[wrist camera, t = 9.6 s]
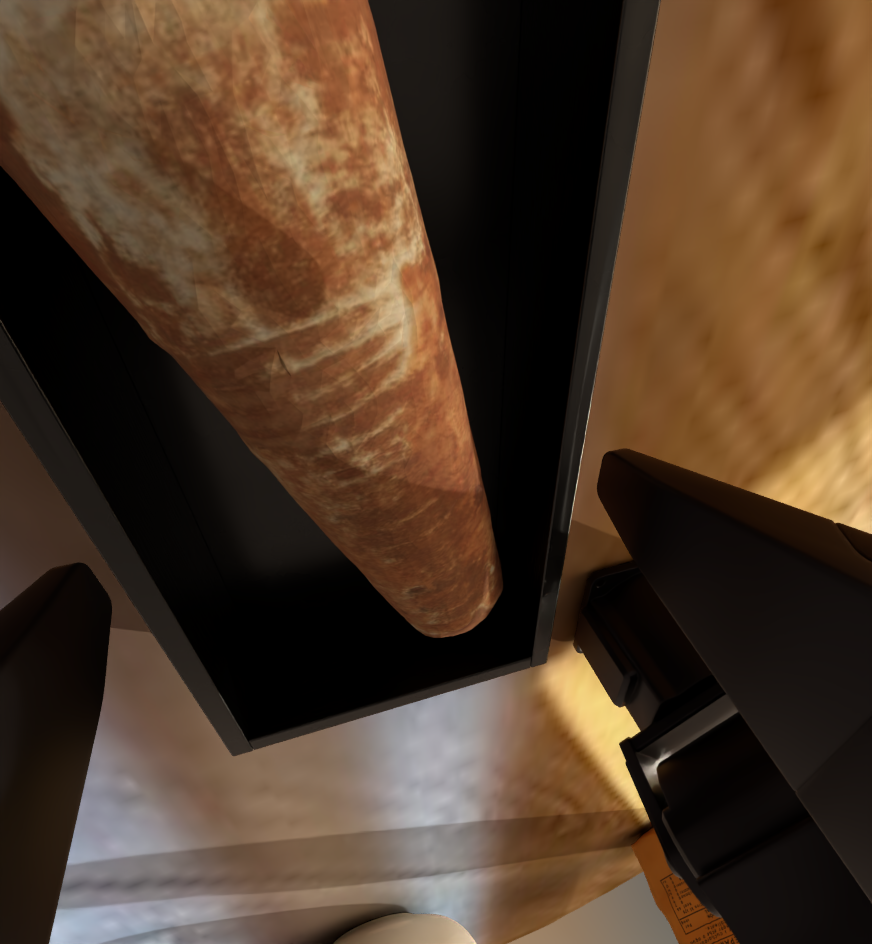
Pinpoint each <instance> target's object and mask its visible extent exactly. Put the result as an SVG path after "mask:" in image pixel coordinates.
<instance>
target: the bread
mask: <svg viewBox="0 0 872 944" xmlns="http://www.w3.org/2000/svg"><path fill="white" fill-rule="evenodd" d="M0 166H1V167H2V168H3V169H4V170H5V171H6V172H7V173H8V175H9V176H10V177H11V178H12V179H13V180H14V181H15V182H16V183H17V184H18V186H19V187H20V188H21V189H22V190H23V191H24V193H25V194H26V195H27V196H28V197H29V198H30V199H31V201H32V202H33V203H34V204H35V205H36V206H37V208H38V209H39V210H40V211H41V212H42V214H43V215H44V216H45V217H46V218H47V219H48V221H49V222H50V223H51V224H52V225H53V226H54V228H55V229H56V230H57V231H58V232H59V233H60V235H61V236H62V237H63V238H64V239H65V240H66V242H67V243H68V244H69V245H70V246H71V247H72V248H73V249H74V251H75V252H76V253H77V254H78V255H79V256H80V257H81V259H82V260H83V261H84V262H85V263H86V264H87V266H88V267H89V268H90V269H91V270H92V271H93V272H94V274H95V275H96V276H97V277H98V278H99V279H100V280H101V281H102V282H103V283H104V285H105V286H106V287H107V288H108V289H109V290H110V291H111V292H112V293H113V294H114V296H115V297H116V298H117V299H118V300H119V301H120V302H121V303H122V305H123V306H124V307H125V308H126V309H127V310H128V311H129V313H130V314H131V315H132V316H133V317H134V318H135V319H136V320H137V322H138V323H139V324H140V326H141V327H142V329H143V330H144V331H145V333H146V334H147V336H148V337H149V339H151V340H152V341H153V342H154V343H156V344H157V345H158V346H160V347H161V348H162V349H164V350H165V351H166V352H168V353H169V354H170V355H171V356H172V357H173V358H174V359H175V360H176V361H177V362H178V364H179V365H180V366H181V367H182V368H183V369H184V370H185V372H186V373H187V374H188V375H189V376H190V377H191V379H192V380H193V381H194V382H195V383H196V384H197V386H198V387H199V388H200V389H201V390H202V391H203V393H204V394H205V395H206V396H207V397H208V399H209V400H210V401H211V402H212V403H213V404H214V406H215V407H216V408H217V409H218V410H219V411H220V412H221V413H222V415H223V416H224V417H225V418H226V419H227V420H228V422H229V423H230V424H231V425H232V426H233V428H234V429H235V430H236V431H237V432H238V434H239V436H240V437H241V439H242V440H243V441H244V443H245V444H246V445H247V447H248V448H249V449H250V451H251V452H252V453H253V454H254V455H255V456H256V457H257V458H258V459H259V460H260V461H261V462H262V463H264V464H265V465H266V466H267V467H268V469H269V470H270V471H271V472H272V473H273V475H274V476H275V477H276V478H277V479H278V481H279V482H280V483H281V484H282V485H283V487H284V488H285V489H286V490H287V491H288V493H289V494H290V495H291V496H292V497H293V498H294V500H295V501H296V502H297V503H298V504H299V505H300V506H301V508H302V509H303V510H304V511H305V512H306V513H307V514H308V515H309V516H310V517H311V519H312V520H313V521H314V522H315V523H316V524H317V525H318V526H319V527H320V529H321V530H322V531H323V532H324V533H325V534H326V535H327V536H328V537H329V539H330V540H331V541H332V542H333V543H334V544H335V545H336V546H337V547H338V548H339V549H340V550H341V551H342V553H343V554H344V555H345V556H346V557H347V558H348V559H349V560H350V561H351V562H353V563H354V564H355V565H356V566H357V567H358V569H359V570H360V571H361V572H362V573H363V574H364V575H365V577H366V578H367V579H368V580H369V582H370V583H371V584H372V585H373V587H374V588H375V589H376V590H377V591H378V592H379V593H380V594H381V595H382V596H383V597H384V598H385V599H386V600H387V601H388V602H389V603H390V605H391V606H393V607H394V608H395V609H396V610H397V611H398V612H399V613H400V614H401V615H402V616H403V617H405V619H406V620H407V621H408V622H409V623H410V624H411V625H412V626H413V627H414V628H415V629H417V630H418V631H419V632H421V633H422V634H424V635H425V636H429V637H433V638H442V637H449V636H455V635H458V634H461V633H465V632H467V631H469V630H471V629H472V628H474V627H475V626H476V625H477V624H479V623H480V622H481V621H483V620H484V619H485V618H486V617H487V615H488V614H489V612H490V611H491V609H492V608H493V606H494V605H495V603H496V601H497V600H498V598H499V596H500V595H501V593H502V590H503V578H502V569H501V563H500V559H499V555H498V550H497V546H496V543H495V538H494V533H493V529H492V522H491V515H490V509H489V505H488V501H487V498H486V494H485V489H484V485H483V481H482V477H481V468H480V464H479V460H478V456H477V452H476V448H475V444H474V440H473V436H472V432H471V428H470V424H469V419H468V415H467V410H466V405H465V400H464V394H463V389H462V385H461V381H460V377H459V373H458V369H457V365H456V361H455V357H454V353H453V349H452V345H451V341H450V337H449V332H448V328H447V323H446V319H445V314H444V309H443V304H442V299H441V292H440V285H439V279H438V275H437V270H436V266H435V263H434V259H433V256H432V252H431V248H430V245H429V241H428V237H427V234H426V230H425V226H424V222H423V218H422V214H421V210H420V206H419V202H418V198H417V194H416V190H415V186H414V182H413V178H412V174H411V171H410V167H409V163H408V160H407V156H406V153H405V149H404V145H403V141H402V137H401V132H400V128H399V124H398V120H397V115H396V111H395V107H394V103H393V99H392V95H391V90H390V86H389V82H388V78H387V74H386V70H385V66H384V61H383V57H382V53H381V49H380V45H379V41H378V36H377V32H376V27H375V23H374V20H373V17H372V13H371V10H370V6H369V3H368V0H0Z"/></svg>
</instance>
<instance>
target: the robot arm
mask: <svg viewBox="0 0 872 944" xmlns="http://www.w3.org/2000/svg"><path fill="white" fill-rule="evenodd" d="M597 492H598V496H599V498H600V500H601V502H602V504H603V506H604V508H605V510H606V511H607V513H608V515H609V517H610V519H611V520H612V522H613V524H614V526H615V528H616V530H617V531H618V533H619V535H620V537H621V539H622V541H623V542H624V544H625V546H626V548H627V550H628V551H629V553H630V555H631V556H632V558H633V560H634V562H630V563H626V564H622V565H618V566H615V567H611V568H607V569H603V570H599V571H596V572H594V573H593V574H591V575H590V576H589V578H588V580H587V584H586V589H585V593H584V598H583V602H582V607H581V611H580V616H579V620H578V625H577V629H576V634H575V638H574V643H573V646H574V648H575V650H576V651H577V652H578V653H583V654H584V655H585V657H586V659H587V660H588V662H589V664H590V665H591V667H592V669H593V670H594V672H595V674H596V675H597V677H598V679H599V680H600V682H601V684H602V685H603V687H604V689H605V690H606V692H607V694H608V695H609V697H610V699H611V700H612V702H613V703H614V704H615V705H616V706H618V707H623V706H626V708H627V709H628V711H629V713H630V714H631V716H632V717H633V719H634V721H635V722H636V724H637V726H638V727H639V729H640V730H641V732H639V733H638V734H636V735H635V736H633V737H632V738H630V737H628V738H626V739H625V740H623V741H622V742H620V743H619V745H620V748H621V750H622V752H623V754H624V757H625V759H626V766H627V768H628V771H629V773H630V775H631V778H632V780H633V782H634V784H635V787H636V789H637V791H638V794H639V796H640V798H641V801H642V803H643V805H644V807H645V810H646V812H647V814H648V817H649V819H650V821H651V824H652V826H653V828H654V830H655V833H656V835H657V837H658V840H659V842H660V844H661V847H662V849H663V852H664V856H665V859H666V862H667V864H668V866H669V868H670V870H671V871H672V873H673V874H674V875H675V876H677V877H679V878H681V879H683V880H684V882H685V883H686V884H687V886H688V887H689V889H690V890H691V891H692V893H693V894H694V895H695V896H696V898H697V899H698V900H699V901H700V902H701V904H702V905H703V906H704V907H705V908H706V909H707V910H708V911H709V912H711V913H712V914H713V915H715V916H716V917H720V918H723V920H724V921H725V923H726V924H727V925H728V927H729V928H730V930H731V931H732V933H733V934H734V936H735V937H736V939H737V940H738V942H739V943H740V944H872V534H869V533H867V532H864V531H861V530H858V529H855V528H852V527H849V526H847V525H844V524H841V523H834V522H833V521H832V520H829V519H826V518H824V517H821V516H818V515H815V514H812V513H809V512H807V511H804V510H801V509H798V508H795V507H792V506H789V505H787V504H784V503H781V502H778V501H775V500H772V499H770V498H767V497H764V496H761V495H758V494H755V493H752V492H750V491H747V490H744V489H741V488H738V487H735V486H733V485H730V484H727V483H724V482H721V481H718V480H715V479H713V478H710V477H707V476H704V475H701V474H698V473H696V472H693V471H690V470H687V469H684V468H681V467H679V466H676V465H673V464H670V463H667V462H664V461H661V460H659V459H656V458H653V457H650V456H647V455H644V454H642V453H639V452H636V451H633V450H630V449H619V450H614V451H609V452H607V453H606V454H605V455H604V456H603V459H602V464H601V469H600V474H599V479H598V483H597ZM111 615H112V604H111V600H110V597H109V595H108V594H107V592H106V591H105V589H104V588H103V586H102V585H101V583H100V582H99V581H98V579H97V578H96V576H95V575H94V573H93V572H92V570H91V569H90V568H89V567H88V566H87V565H86V564H84V563H73V564H68V565H64V566H59V567H55V568H52V569H50V570H49V571H47V572H46V573H45V574H44V575H42V576H41V577H40V578H39V579H38V580H37V581H35V582H34V583H33V584H32V585H31V586H29V587H28V588H27V589H26V590H25V591H23V592H22V593H21V594H20V595H19V596H17V597H16V598H15V599H14V600H13V601H11V602H10V603H9V604H8V605H7V606H5V607H4V608H3V609H2V610H1V611H0V944H49V941H50V936H51V932H52V927H53V923H54V918H55V914H56V909H57V905H58V900H59V896H60V892H61V887H62V883H63V878H64V874H65V869H66V865H67V860H68V856H69V851H70V847H71V842H72V838H73V833H74V829H75V824H76V820H77V815H78V811H79V806H80V802H81V797H82V793H83V788H84V784H85V780H86V775H87V771H88V766H89V762H90V757H91V753H92V748H93V744H94V739H95V735H96V730H97V726H98V721H99V717H100V712H101V706H102V701H103V694H104V686H105V676H106V666H107V656H108V645H109V635H110V625H111Z"/></svg>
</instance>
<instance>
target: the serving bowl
mask: <svg viewBox="0 0 872 944" xmlns="http://www.w3.org/2000/svg"><path fill="white" fill-rule="evenodd" d="M333 944H476V942H475V941H474V939H473V938H472V936H471V935H470V934H469V933H468V932H467V931H466V929H465V928H464V927H462V926H461V925H460V924H459V923H457V922H456V921H454V920H452V919H450V918H448V917H445V916H442V915H436V914H412V913H398V914H392V915H388V916H384V917H381V918H378V919H375V920H372V921H369V922H367V923H364V924H362V925H360V926H358V927H356V928H354V929H352V930H350V931H348V932H347V933H345V934H344V935H342V936H341V937H340V938H338V939H337V940H336V941H335V942H334V943H333Z"/></svg>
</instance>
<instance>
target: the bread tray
mask: <svg viewBox="0 0 872 944" xmlns="http://www.w3.org/2000/svg"><path fill="white" fill-rule="evenodd" d="M660 2H661V0H368V3H369V6H370V10H371V13H372V17H373V20H374V23H375V27H376V32H377V36H378V41H379V45H380V49H381V53H382V57H383V61H384V66H385V70H386V74H387V78H388V82H389V86H390V90H391V95H392V99H393V103H394V107H395V111H396V115H397V120H398V124H399V128H400V132H401V137H402V141H403V145H404V149H405V153H406V156H407V160H408V163H409V167H410V171H411V174H412V178H413V182H414V186H415V190H416V194H417V198H418V202H419V206H420V210H421V214H422V218H423V222H424V226H425V230H426V234H427V237H428V241H429V245H430V248H431V252H432V256H433V259H434V263H435V266H436V270H437V275H438V279H439V285H440V292H441V299H442V304H443V309H444V314H445V319H446V323H447V328H448V332H449V337H450V341H451V345H452V349H453V353H454V357H455V361H456V365H457V369H458V373H459V377H460V381H461V385H462V389H463V394H464V400H465V405H466V410H467V415H468V419H469V424H470V428H471V432H472V436H473V440H474V444H475V448H476V452H477V456H478V460H479V464H480V468H481V477H482V481H483V485H484V489H485V494H486V498H487V501H488V505H489V509H490V515H491V522H492V529H493V533H494V538H495V543H496V546H497V550H498V555H499V559H500V563H501V569H502V578H503V590H502V593H501V595H500V596H499V598H498V600H497V601H496V603H495V605H494V606H493V608H492V609H491V611H490V612H489V614H488V615H487V617H486V618H485V619H484V620H483V621H481V622H480V623H479V624H477V625H476V626H475V627H474V628H472V629H471V630H469V631H467V632H465V633H461V634H458V635H455V636H449V637H442V638H433V637H429V636H425V635H424V634H422V633H421V632H419V631H418V630H417V629H415V628H414V627H413V626H412V625H411V624H410V623H409V622H408V621H407V620H406V619H405V617H403V616H402V615H401V614H400V613H399V612H398V611H397V610H396V609H395V608H394V607H393V606H391V605H390V603H389V602H388V601H387V600H386V599H385V598H384V597H383V596H382V595H381V594H380V593H379V592H378V591H377V590H376V589H375V588H374V587H373V585H372V584H371V583H370V582H369V580H368V579H367V578H366V577H365V575H364V574H363V573H362V572H361V571H360V570H359V569H358V567H357V566H356V565H355V564H354V563H353V562H351V561H350V560H349V559H348V558H347V557H346V556H345V555H344V554H343V553H342V551H341V550H340V549H339V548H338V547H337V546H336V545H335V544H334V543H333V542H332V541H331V540H330V539H329V537H328V536H327V535H326V534H325V533H324V532H323V531H322V530H321V529H320V527H319V526H318V525H317V524H316V523H315V522H314V521H313V520H312V519H311V517H310V516H309V515H308V514H307V513H306V512H305V511H304V510H303V509H302V508H301V506H300V505H299V504H298V503H297V502H296V501H295V500H294V498H293V497H292V496H291V495H290V494H289V493H288V491H287V490H286V489H285V488H284V487H283V485H282V484H281V483H280V482H279V481H278V479H277V478H276V477H275V476H274V475H273V473H272V472H271V471H270V470H269V469H268V467H267V466H266V465H265V464H264V463H262V462H261V461H260V460H259V459H258V458H257V457H256V456H255V455H254V454H253V453H252V452H251V451H250V449H249V448H248V447H247V445H246V444H245V443H244V441H243V440H242V439H241V437H240V436H239V434H238V432H237V431H236V430H235V429H234V428H233V426H232V425H231V424H230V423H229V422H228V420H227V419H226V418H225V417H224V416H223V415H222V413H221V412H220V411H219V410H218V409H217V408H216V407H215V406H214V404H213V403H212V402H211V401H210V400H209V399H208V397H207V396H206V395H205V394H204V393H203V391H202V390H201V389H200V388H199V387H198V386H197V384H196V383H195V382H194V381H193V380H192V379H191V377H190V376H189V375H188V374H187V373H186V372H185V370H184V369H183V368H182V367H181V366H180V365H179V364H178V362H177V361H176V360H175V359H174V358H173V357H172V356H171V355H170V354H169V353H168V352H166V351H165V350H164V349H162V348H161V347H160V346H158V345H157V344H156V343H154V342H153V341H152V340H151V339H149V337H148V336H147V334H146V333H145V331H144V330H143V329H142V327H141V326H140V324H139V323H138V322H137V320H136V319H135V318H134V317H133V316H132V315H131V314H130V313H129V311H128V310H127V309H126V308H125V307H124V306H123V305H122V303H121V302H120V301H119V300H118V299H117V298H116V297H115V296H114V294H113V293H112V292H111V291H110V290H109V289H108V288H107V287H106V286H105V285H104V283H103V282H102V281H101V280H100V279H99V278H98V277H97V276H96V275H95V274H94V272H93V271H92V270H91V269H90V268H89V267H88V266H87V264H86V263H85V262H84V261H83V260H82V259H81V257H80V256H79V255H78V254H77V253H76V252H75V251H74V249H73V248H72V247H71V246H70V245H69V244H68V243H67V242H66V240H65V239H64V238H63V237H62V236H61V235H60V233H59V232H58V231H57V230H56V229H55V228H54V226H53V225H52V224H51V223H50V222H49V221H48V219H47V218H46V217H45V216H44V215H43V214H42V212H41V211H40V210H39V209H38V208H37V206H36V205H35V204H34V203H33V202H32V201H31V199H30V198H29V197H28V196H27V195H26V194H25V193H24V191H23V190H22V189H21V188H20V187H19V186H18V184H17V183H16V182H15V181H14V180H13V179H12V178H11V177H10V176H9V175H8V173H7V172H6V171H5V170H4V169H3V168H2V167H1V166H0V401H1V402H2V404H3V405H4V407H5V408H6V410H7V411H8V413H9V414H10V416H11V418H12V419H13V421H14V422H15V424H16V425H17V427H18V428H19V430H20V431H21V433H22V434H23V436H24V437H25V439H26V440H27V442H28V444H29V445H30V447H31V448H32V450H33V451H34V453H35V454H36V456H37V457H38V459H39V460H40V462H41V463H42V465H43V467H44V468H45V470H46V471H47V473H48V474H49V476H50V477H51V479H52V480H53V482H54V483H55V485H56V486H57V488H58V490H59V491H60V493H61V494H62V496H63V497H64V499H65V500H66V502H67V503H68V505H69V506H70V508H71V509H72V511H73V513H74V514H75V516H76V517H77V519H78V520H79V522H80V523H81V525H82V526H83V528H84V529H85V531H86V532H87V534H88V536H89V537H90V539H91V540H92V542H93V543H94V545H95V546H96V548H97V549H98V551H99V552H100V554H101V555H102V557H103V559H104V560H105V562H106V563H107V565H108V566H109V568H110V569H111V571H112V572H113V574H114V575H115V577H116V578H117V580H118V582H119V583H120V585H121V586H122V588H123V589H124V591H125V592H126V594H127V595H128V597H129V598H130V600H131V601H132V603H133V605H134V606H135V608H136V609H137V611H138V612H139V614H140V615H141V617H142V618H143V620H144V621H145V623H146V624H147V626H148V628H149V629H150V631H151V632H152V634H153V635H154V637H155V638H156V640H157V641H158V643H159V644H160V646H161V647H162V649H163V650H164V652H165V654H166V655H167V657H168V658H169V660H170V661H171V663H172V664H173V666H174V667H175V669H176V670H177V672H178V673H179V675H180V677H181V678H182V680H183V681H184V683H185V684H186V686H187V687H188V689H189V690H190V692H191V693H192V695H193V696H194V698H195V700H196V701H197V703H198V704H199V706H200V707H201V709H202V710H203V712H204V713H205V715H206V716H207V718H208V719H209V721H210V723H211V724H212V726H213V727H214V729H215V730H216V732H217V733H218V735H219V736H220V738H221V739H222V741H223V742H224V744H225V746H226V747H227V749H228V750H229V752H230V753H231V755H232V756H237V755H240V754H243V753H247V752H250V751H252V750H253V749H254V750H256V749H259V748H262V747H266V746H269V745H272V744H276V743H279V742H283V741H286V740H289V739H293V738H296V737H299V736H303V735H306V734H309V733H313V732H316V731H319V730H323V729H326V728H329V727H333V726H336V725H340V724H343V723H346V722H350V721H353V720H356V719H360V718H363V717H366V716H370V715H373V714H376V713H380V712H383V711H386V710H390V709H393V708H397V707H400V706H403V705H407V704H410V703H413V702H417V701H420V700H423V699H427V698H430V697H433V696H437V695H440V694H443V693H447V692H450V691H454V690H457V689H460V688H464V687H467V686H470V685H474V684H477V683H480V682H484V681H487V680H490V679H494V678H497V677H500V676H504V675H507V674H511V673H514V672H517V671H521V670H524V669H527V668H530V666H531V667H535V666H538V665H541V664H545V663H546V662H547V657H548V652H549V646H550V640H551V634H552V628H553V623H554V617H555V611H556V605H557V599H558V594H559V588H560V582H561V576H562V570H563V565H564V559H565V553H566V547H567V541H568V536H569V530H570V524H571V518H572V513H573V507H574V501H575V495H576V489H577V484H578V478H579V472H580V466H581V460H582V455H583V449H584V443H585V437H586V431H587V426H588V420H589V414H590V408H591V402H592V397H593V391H594V385H595V379H596V373H597V368H598V362H599V356H600V350H601V344H602V339H603V333H604V327H605V321H606V315H607V310H608V304H609V298H610V292H611V286H612V281H613V275H614V269H615V263H616V257H617V252H618V246H619V240H620V234H621V228H622V223H623V217H624V211H625V205H626V199H627V194H628V188H629V182H630V176H631V170H632V165H633V159H634V153H635V147H636V141H637V136H638V130H639V124H640V118H641V112H642V107H643V101H644V95H645V89H646V83H647V78H648V72H649V66H650V60H651V54H652V49H653V43H654V37H655V31H656V25H657V20H658V14H659V8H660Z"/></svg>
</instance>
